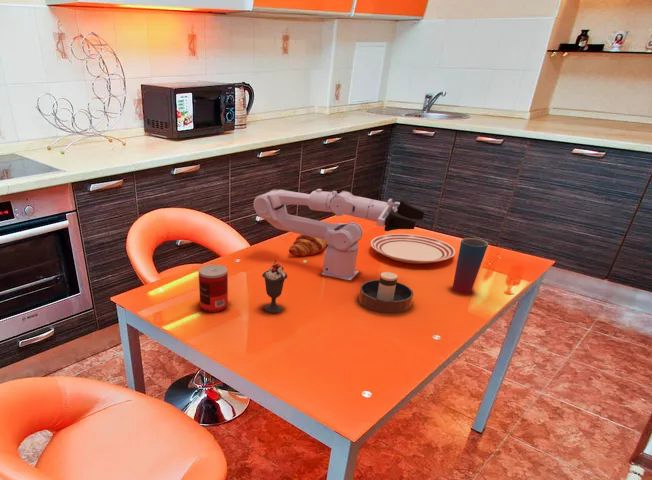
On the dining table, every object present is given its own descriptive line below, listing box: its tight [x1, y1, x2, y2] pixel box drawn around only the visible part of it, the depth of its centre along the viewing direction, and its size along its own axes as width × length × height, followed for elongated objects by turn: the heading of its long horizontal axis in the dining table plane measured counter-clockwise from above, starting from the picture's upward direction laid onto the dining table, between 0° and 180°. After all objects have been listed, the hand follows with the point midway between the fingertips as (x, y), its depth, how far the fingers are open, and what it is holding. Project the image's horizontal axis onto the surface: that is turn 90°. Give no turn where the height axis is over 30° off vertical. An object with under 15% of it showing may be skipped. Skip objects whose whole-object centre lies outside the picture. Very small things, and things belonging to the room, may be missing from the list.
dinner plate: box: [370, 233, 456, 265], centre depth 164 cm, size 27×27×3 cm
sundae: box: [261, 260, 288, 314], centre depth 128 cm, size 7×7×15 cm
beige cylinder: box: [377, 271, 399, 301], centre depth 131 cm, size 4×4×8 cm
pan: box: [358, 279, 414, 315], centre depth 133 cm, size 14×14×4 cm
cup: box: [451, 237, 489, 295], centre depth 136 cm, size 7×7×15 cm
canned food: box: [198, 264, 229, 313], centre depth 131 cm, size 8×8×11 cm
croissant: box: [288, 234, 328, 257], centre depth 168 cm, size 21×10×8 cm, turn 132°
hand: (419, 220), depth 130 cm, fingers open, 7 cm apart
